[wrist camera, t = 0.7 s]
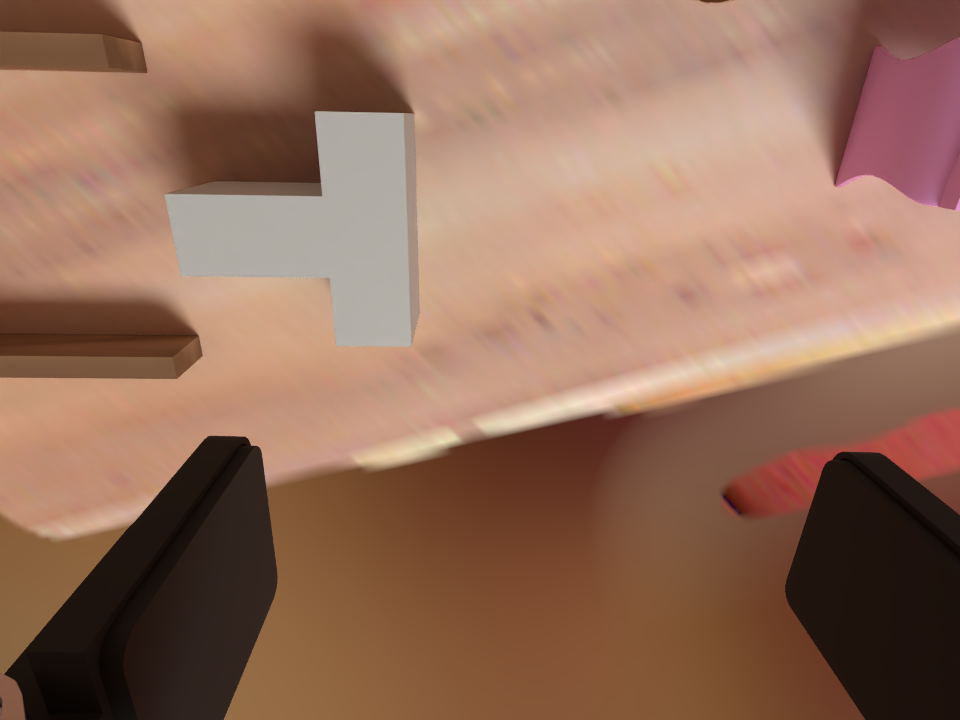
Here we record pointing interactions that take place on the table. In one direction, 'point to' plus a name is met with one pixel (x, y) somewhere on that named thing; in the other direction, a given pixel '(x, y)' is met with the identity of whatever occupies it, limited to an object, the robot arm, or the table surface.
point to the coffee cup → (714, 1)
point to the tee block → (322, 227)
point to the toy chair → (909, 126)
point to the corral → (86, 351)
